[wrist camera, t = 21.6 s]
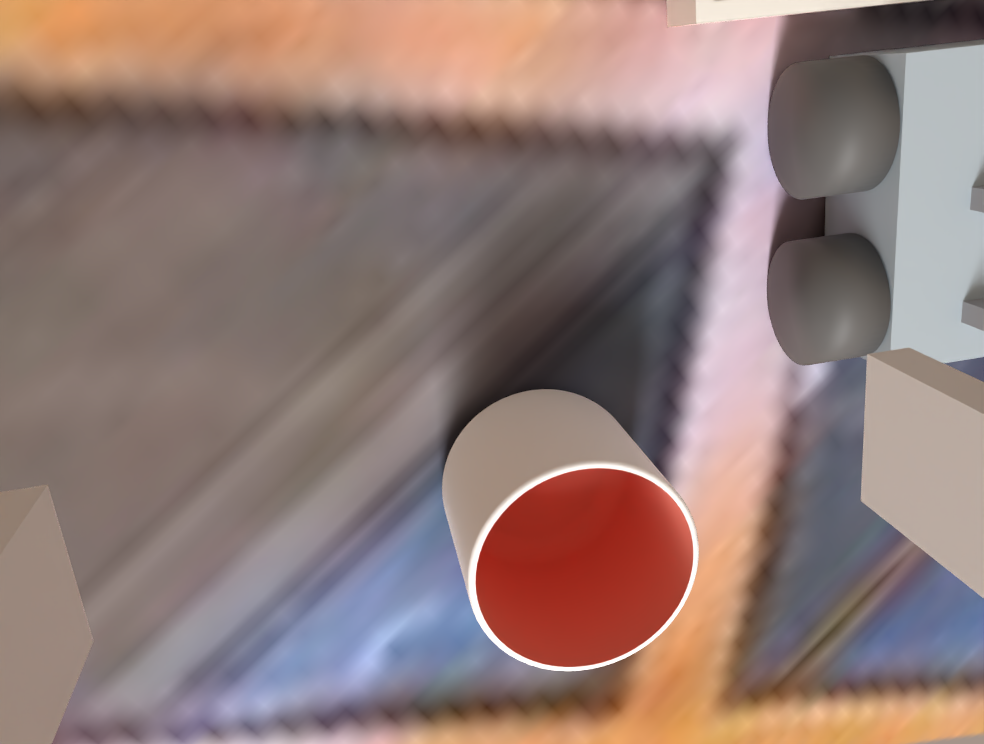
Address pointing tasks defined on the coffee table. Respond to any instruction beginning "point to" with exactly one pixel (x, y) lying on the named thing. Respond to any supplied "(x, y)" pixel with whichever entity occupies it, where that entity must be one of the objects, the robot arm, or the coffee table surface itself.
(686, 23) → the tray
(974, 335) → the trolley
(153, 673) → the coffee table surface
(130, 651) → the coffee table surface
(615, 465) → the cup
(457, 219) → the coffee table surface
